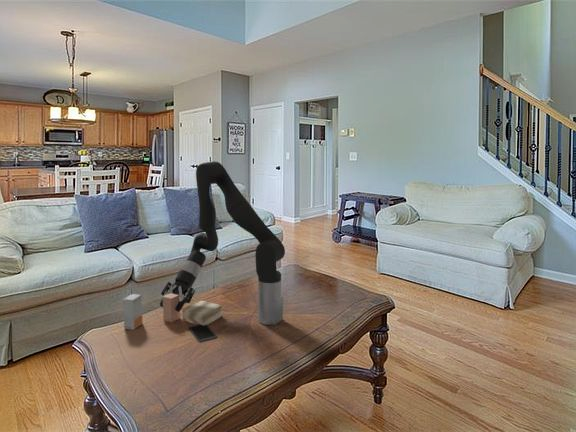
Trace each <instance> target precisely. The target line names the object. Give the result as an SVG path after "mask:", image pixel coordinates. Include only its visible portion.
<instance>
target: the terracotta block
mask: <svg viewBox="0 0 576 432" xmlns="http://www.w3.org/2000/svg"><path fill="white" fill-rule="evenodd" d="M162 299H163V307H162V313H163V314H162V315H163V317H162V318H163V321H166V322H170V323H173V322H175V321H178V320H180V318H181V316H180V315H181V310H180V311H179V312H177V311H176V310H175V308H176V306H177V305H178V303H179V301H180V297H179V295H177V294H173V293H172V292H171V293H170V294H167V295H165V296H163V295H162Z"/></svg>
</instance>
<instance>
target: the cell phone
mask: <svg viewBox="0 0 576 432" xmlns="http://www.w3.org/2000/svg"><path fill="white" fill-rule="evenodd" d="M187 329H188V331H189V332H190V333H191V334H192V336H193V337H194V338H195V340H196V341H197V342H198V343H203V342H208V341H211V340H215V339H218V335H217V334H216V333H215V332H214V331H213V330H212V328H211V327H210V326H209V324H206V325H200V324H199V325H197V324H194V325H191V326H190V325H189V326H188V327H187Z"/></svg>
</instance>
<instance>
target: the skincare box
mask: <svg viewBox="0 0 576 432" xmlns="http://www.w3.org/2000/svg"><path fill="white" fill-rule="evenodd" d="M142 298H143V297H142V294H135V293H132V294H130V295H128V296H126V297H124V298H123V299H122V305H123V310H122V311H123V325H124V329H125V330H132V331H133V330H135V329H136V328H138V327H139V326H141V325H142V324H143V303H142Z"/></svg>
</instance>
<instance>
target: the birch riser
mask: <svg viewBox="0 0 576 432" xmlns="http://www.w3.org/2000/svg"><path fill="white" fill-rule="evenodd" d="M222 313H223V312H222V305H221V304H217V303H213V302H209V301H206V300H199V301H197V302H195V303H192V304H191V305H188V306H186V307H185V308H182V321H184V322H187V323H191V324H194V325H199V324H200V325H206V324H207V325H209V324H211V323H212V322H214V321H216V320H218V319H220V318H221V317H222V316H223V315H222Z"/></svg>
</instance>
